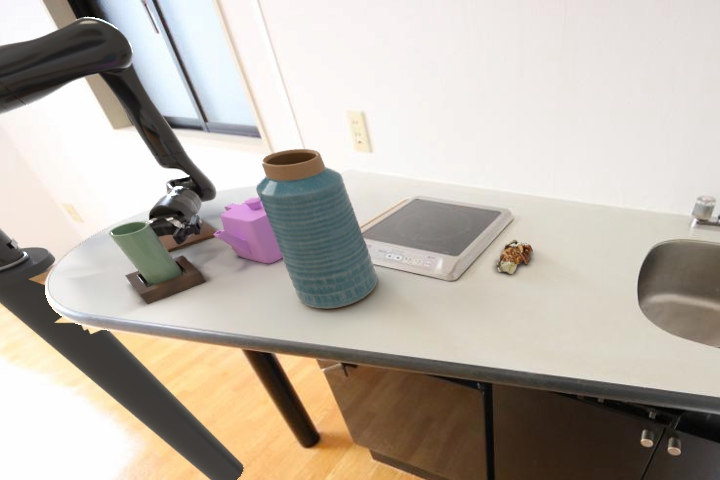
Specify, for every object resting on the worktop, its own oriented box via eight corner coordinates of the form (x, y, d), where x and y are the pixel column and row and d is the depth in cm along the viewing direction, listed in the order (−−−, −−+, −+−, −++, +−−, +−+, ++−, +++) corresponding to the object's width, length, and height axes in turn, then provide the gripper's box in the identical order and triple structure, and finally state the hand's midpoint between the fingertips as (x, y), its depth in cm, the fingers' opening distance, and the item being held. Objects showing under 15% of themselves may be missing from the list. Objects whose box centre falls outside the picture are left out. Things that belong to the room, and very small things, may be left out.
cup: (157, 294, 77) (113, 238, 68) (149, 284, 79) (105, 229, 71) (190, 282, 80) (152, 227, 71) (181, 272, 83) (143, 218, 74)
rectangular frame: (147, 304, 74) (139, 294, 72) (132, 284, 79) (124, 275, 78) (206, 281, 80) (200, 271, 79) (189, 264, 85) (182, 255, 84)
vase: (366, 312, 72) (320, 174, 54) (285, 312, 72) (212, 173, 54) (386, 268, 84) (355, 142, 66) (317, 267, 84) (266, 142, 66)
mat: (158, 255, 88) (156, 253, 88) (141, 238, 95) (140, 236, 95) (219, 234, 96) (218, 232, 96) (200, 220, 103) (199, 218, 103)
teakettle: (308, 227, 99) (290, 181, 91) (312, 256, 88) (293, 206, 80) (238, 240, 94) (212, 193, 86) (234, 272, 83) (203, 221, 74)
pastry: (492, 271, 82) (491, 258, 80) (507, 246, 91) (507, 233, 88) (521, 277, 81) (522, 263, 78) (534, 251, 89) (535, 237, 87)
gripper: (130, 202, 84) (100, 233, 73) (199, 194, 88) (181, 222, 77) (151, 232, 89) (126, 265, 78) (216, 223, 93) (201, 253, 82)
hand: (154, 243), depth 77 cm, fingers open, 8 cm apart
